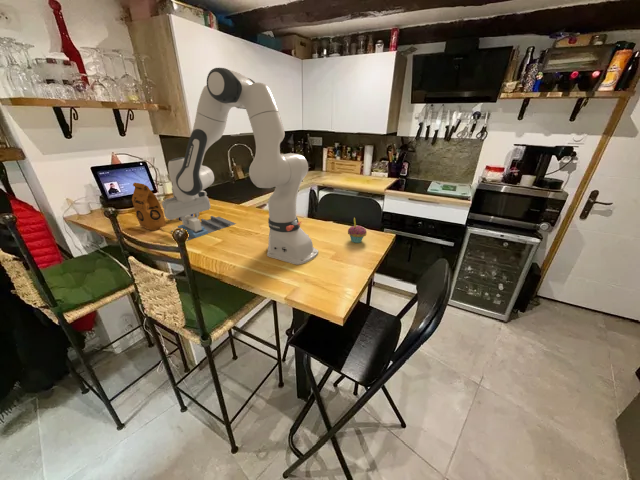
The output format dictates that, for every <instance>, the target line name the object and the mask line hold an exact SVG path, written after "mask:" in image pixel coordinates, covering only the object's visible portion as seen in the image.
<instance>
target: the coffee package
mask: <svg viewBox="0 0 640 480" xmlns="http://www.w3.org/2000/svg"><path fill="white" fill-rule="evenodd" d="M132 186H133V187H134V190H133V193H132V197H131V201H132V205H133V208H134V211H135V215H136V216H135V217H136V218H137V221H138V223H139V226H140V227H142V228H145V229H146V230H149V231H153V232H154V231H158V230H161V229H162V228H163V227H165V226H167V224H166V219H165V214H164V210H163V209H162V207H161V204H160V201H159V200H158V198H157V196H156V195H155V194H154V193H153V191H152V190H151V189H150V188H149V186H148V185H147V184H144V183H139V182H133V184H132Z"/></svg>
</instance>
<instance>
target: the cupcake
mask: <svg viewBox="0 0 640 480" xmlns="http://www.w3.org/2000/svg"><path fill="white" fill-rule="evenodd" d="M347 235H349V236H350V240H351V242H352V243H356V244H359V243H361V242H362V241H363V238H364V237H366V236H367V229H366V228H365V227H363V226H362V225H357V223H356V218H355V217H353V225H352V226H350V227H349V228H348V229H347Z"/></svg>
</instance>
